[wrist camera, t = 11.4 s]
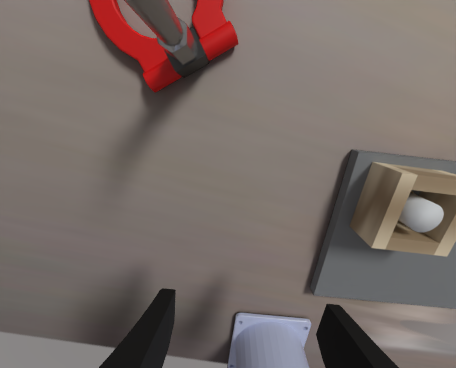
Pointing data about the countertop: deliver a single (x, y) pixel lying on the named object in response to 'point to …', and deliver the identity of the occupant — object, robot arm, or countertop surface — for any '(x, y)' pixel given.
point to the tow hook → (167, 37)
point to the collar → (394, 203)
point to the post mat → (380, 258)
